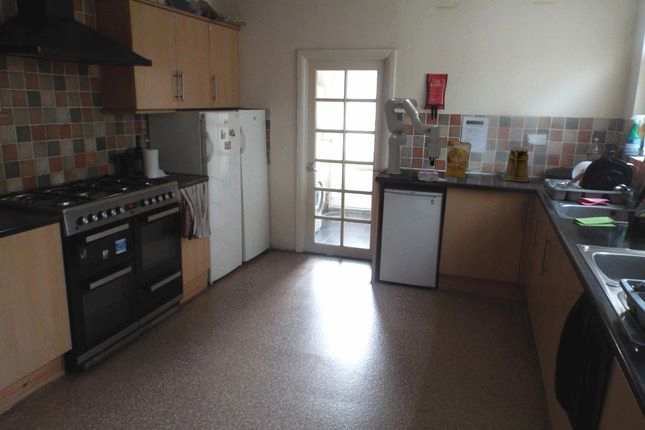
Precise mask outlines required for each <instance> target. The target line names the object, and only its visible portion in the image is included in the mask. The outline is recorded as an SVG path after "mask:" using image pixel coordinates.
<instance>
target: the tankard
mask: <svg viewBox="0 0 645 430" xmlns="http://www.w3.org/2000/svg"><path fill="white" fill-rule="evenodd" d="M528 152H529V150H528V149H527V148H525V147H524V148H523V147H513V148H511V149H510V152H509V155H508V162H507V165H506V170H505V174H504V175H503V181H506V182H512V183H527V182H528V181H529V178H530V177H529V174H528V171H529V169H528V164H529V163H528V161H529V154H528Z"/></svg>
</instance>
